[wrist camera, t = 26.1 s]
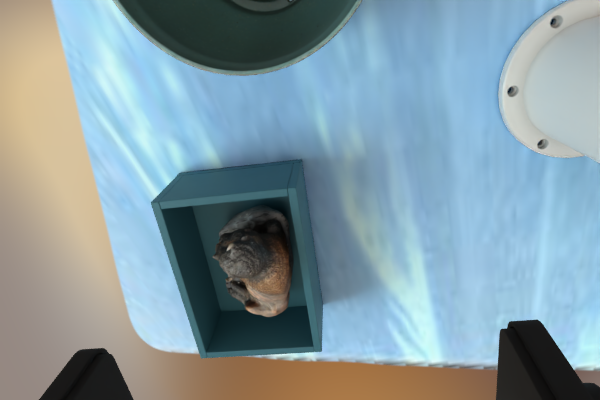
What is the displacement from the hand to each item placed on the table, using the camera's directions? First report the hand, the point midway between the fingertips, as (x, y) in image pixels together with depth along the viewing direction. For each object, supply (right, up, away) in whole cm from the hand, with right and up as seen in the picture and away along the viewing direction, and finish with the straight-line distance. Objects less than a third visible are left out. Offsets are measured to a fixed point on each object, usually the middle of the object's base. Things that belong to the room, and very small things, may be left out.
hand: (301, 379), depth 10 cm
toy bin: (-5, 0, +31) cm, 31 cm away
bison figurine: (-4, 0, +30) cm, 31 cm away
